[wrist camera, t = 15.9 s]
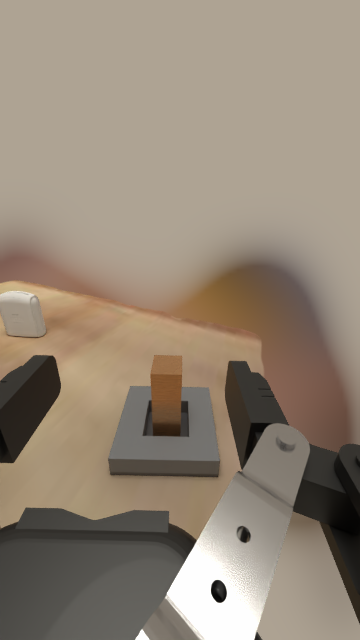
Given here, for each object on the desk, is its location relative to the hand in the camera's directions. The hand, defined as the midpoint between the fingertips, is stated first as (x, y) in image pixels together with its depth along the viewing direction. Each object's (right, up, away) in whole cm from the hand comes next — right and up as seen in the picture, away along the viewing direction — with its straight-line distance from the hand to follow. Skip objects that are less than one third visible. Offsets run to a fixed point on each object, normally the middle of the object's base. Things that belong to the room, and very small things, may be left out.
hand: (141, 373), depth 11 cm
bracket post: (0, -15, +26) cm, 30 cm away
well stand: (0, -15, +27) cm, 30 cm away
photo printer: (-41, -2, +56) cm, 69 cm away
